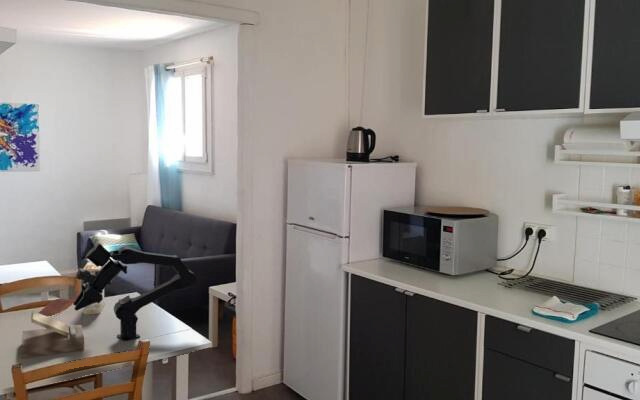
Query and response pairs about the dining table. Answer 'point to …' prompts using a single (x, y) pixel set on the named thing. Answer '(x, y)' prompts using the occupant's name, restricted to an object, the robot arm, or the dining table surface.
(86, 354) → the dining table surface
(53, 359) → the dining table surface
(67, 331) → the oak plank
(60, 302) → the wooden tablet
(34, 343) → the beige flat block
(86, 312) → the coffeecake box
